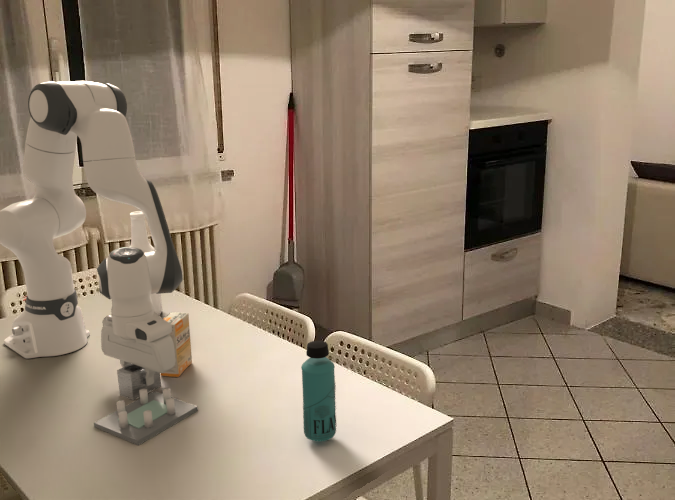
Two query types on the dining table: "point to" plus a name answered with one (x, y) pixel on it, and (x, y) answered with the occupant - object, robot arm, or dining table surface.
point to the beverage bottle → (318, 393)
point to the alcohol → (143, 248)
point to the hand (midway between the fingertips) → (139, 380)
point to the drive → (135, 381)
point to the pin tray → (145, 432)
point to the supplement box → (179, 342)
